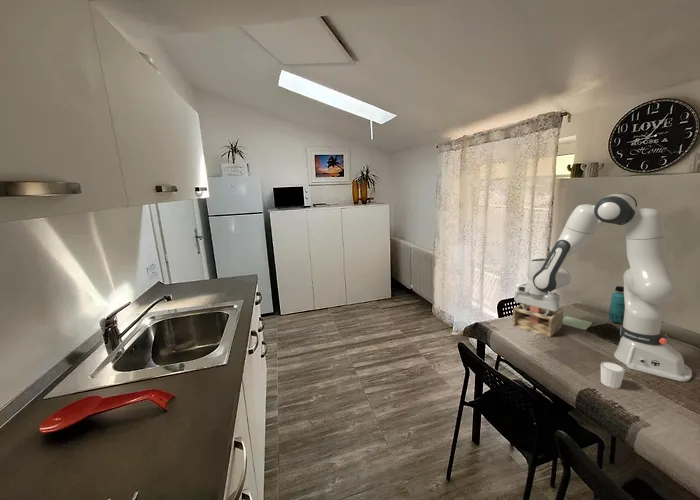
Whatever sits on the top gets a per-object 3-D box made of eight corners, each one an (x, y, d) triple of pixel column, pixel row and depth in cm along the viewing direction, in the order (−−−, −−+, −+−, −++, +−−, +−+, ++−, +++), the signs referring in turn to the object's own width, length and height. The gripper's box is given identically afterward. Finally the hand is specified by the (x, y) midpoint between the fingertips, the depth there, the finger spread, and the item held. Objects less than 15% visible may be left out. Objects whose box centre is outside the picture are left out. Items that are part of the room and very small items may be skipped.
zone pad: (592, 323, 160) (592, 322, 160) (585, 330, 153) (585, 329, 152) (566, 316, 169) (566, 316, 169) (558, 323, 162) (558, 322, 162)
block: (540, 321, 157) (541, 305, 155) (537, 323, 154) (538, 307, 153) (532, 319, 160) (533, 303, 158) (529, 321, 157) (530, 305, 156)
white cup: (616, 391, 108) (618, 374, 106) (594, 381, 114) (596, 364, 113) (626, 385, 110) (629, 368, 109) (605, 375, 117) (607, 359, 115)
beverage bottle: (605, 320, 162) (609, 285, 159) (618, 320, 161) (623, 284, 158) (613, 325, 156) (618, 289, 152) (628, 325, 155) (632, 288, 151)
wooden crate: (561, 327, 157) (563, 309, 155) (550, 337, 148) (551, 318, 146) (525, 317, 171) (526, 300, 169) (512, 325, 162) (513, 308, 160)
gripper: (562, 292, 147) (560, 318, 150) (519, 283, 163) (517, 307, 166) (557, 295, 144) (555, 322, 146) (513, 286, 160) (512, 310, 162)
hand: (534, 314), depth 156 cm, fingers open, 8 cm apart
